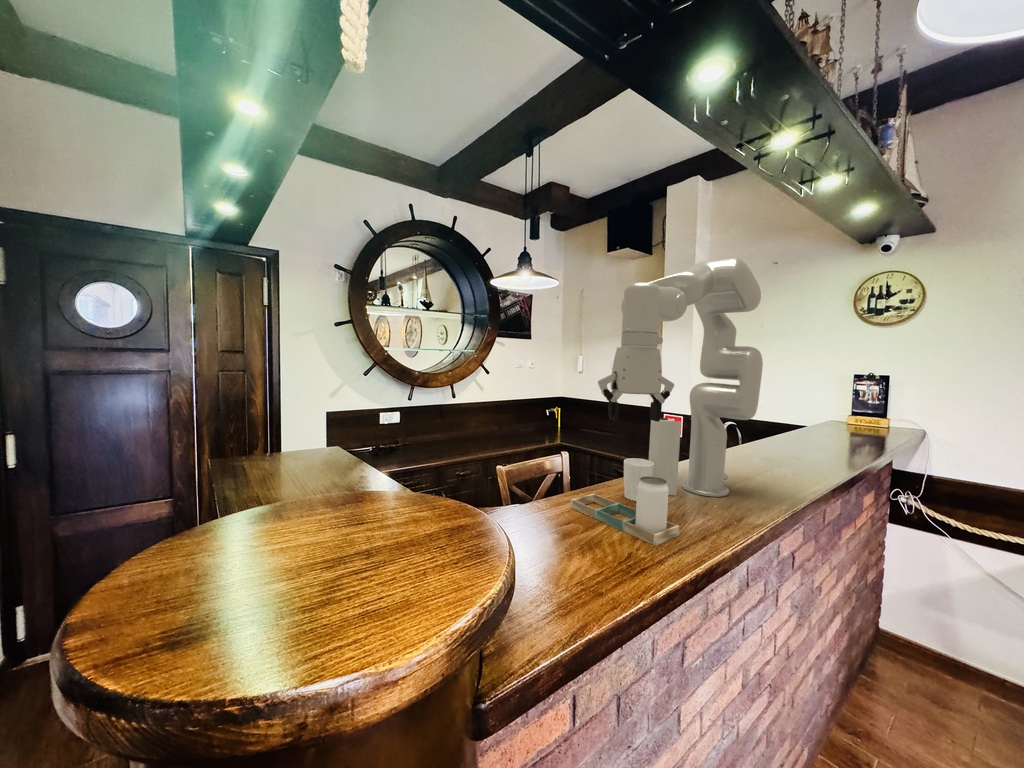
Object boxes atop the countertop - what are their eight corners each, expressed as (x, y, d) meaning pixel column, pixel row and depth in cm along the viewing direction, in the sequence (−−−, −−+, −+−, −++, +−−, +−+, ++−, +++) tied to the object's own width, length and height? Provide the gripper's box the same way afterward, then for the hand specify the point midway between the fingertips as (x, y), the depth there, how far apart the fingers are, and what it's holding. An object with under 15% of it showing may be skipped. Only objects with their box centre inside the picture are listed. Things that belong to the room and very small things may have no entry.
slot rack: (593, 501, 110) (593, 493, 110) (679, 535, 91) (679, 526, 91) (570, 508, 105) (570, 499, 105) (655, 545, 86) (656, 535, 86)
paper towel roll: (642, 489, 122) (646, 416, 120) (660, 487, 124) (664, 416, 122) (658, 497, 115) (662, 421, 113) (676, 496, 117) (681, 420, 115)
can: (628, 529, 93) (631, 477, 93) (651, 525, 96) (654, 474, 95) (648, 541, 88) (652, 486, 87) (672, 537, 90) (675, 483, 89)
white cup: (648, 493, 118) (650, 459, 117) (654, 503, 110) (657, 466, 110) (619, 492, 119) (621, 457, 118) (624, 501, 111) (626, 464, 110)
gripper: (666, 344, 95) (661, 418, 96) (594, 340, 92) (590, 417, 93) (685, 343, 88) (680, 423, 89) (608, 339, 85) (603, 422, 86)
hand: (634, 420), depth 91 cm, fingers open, 9 cm apart
